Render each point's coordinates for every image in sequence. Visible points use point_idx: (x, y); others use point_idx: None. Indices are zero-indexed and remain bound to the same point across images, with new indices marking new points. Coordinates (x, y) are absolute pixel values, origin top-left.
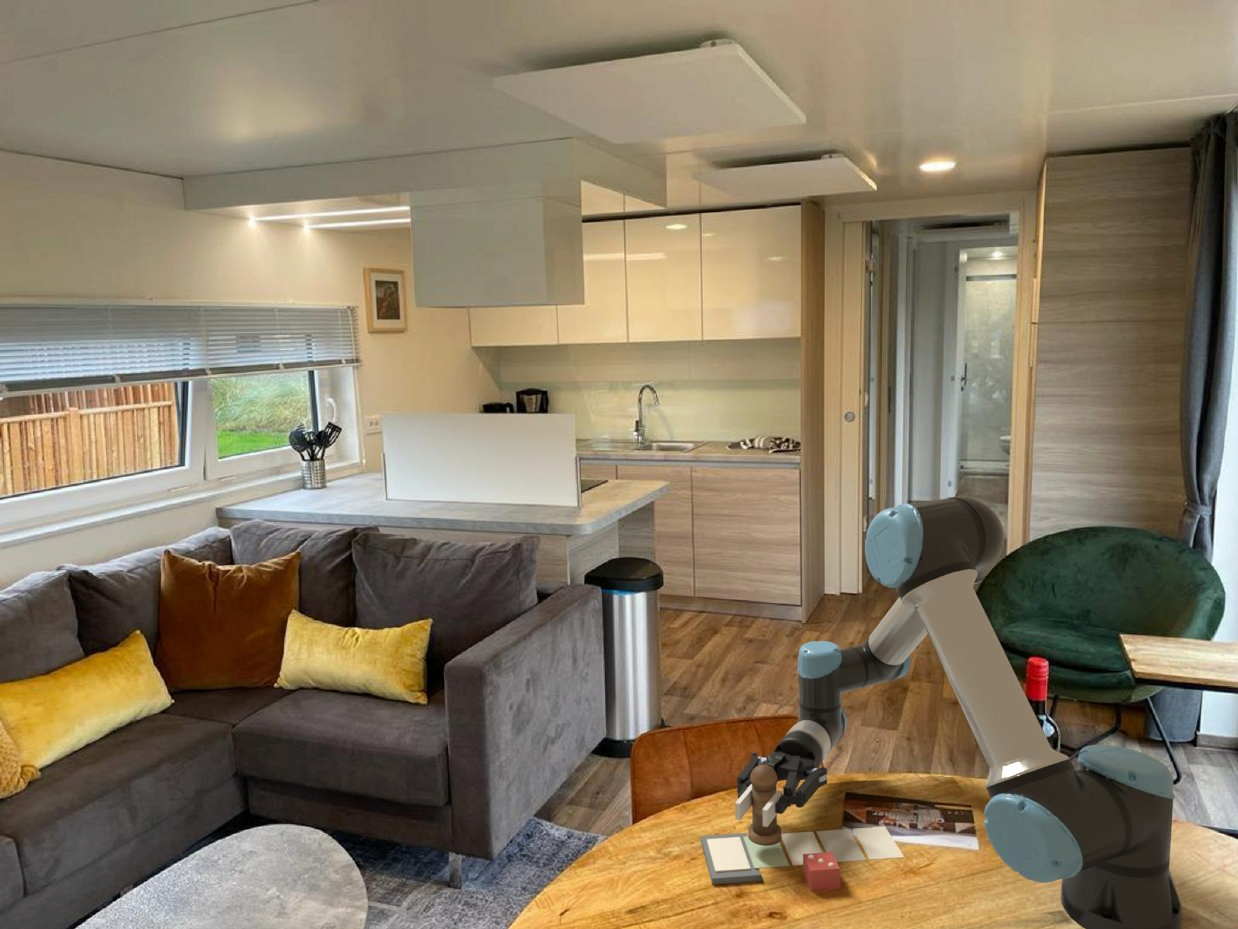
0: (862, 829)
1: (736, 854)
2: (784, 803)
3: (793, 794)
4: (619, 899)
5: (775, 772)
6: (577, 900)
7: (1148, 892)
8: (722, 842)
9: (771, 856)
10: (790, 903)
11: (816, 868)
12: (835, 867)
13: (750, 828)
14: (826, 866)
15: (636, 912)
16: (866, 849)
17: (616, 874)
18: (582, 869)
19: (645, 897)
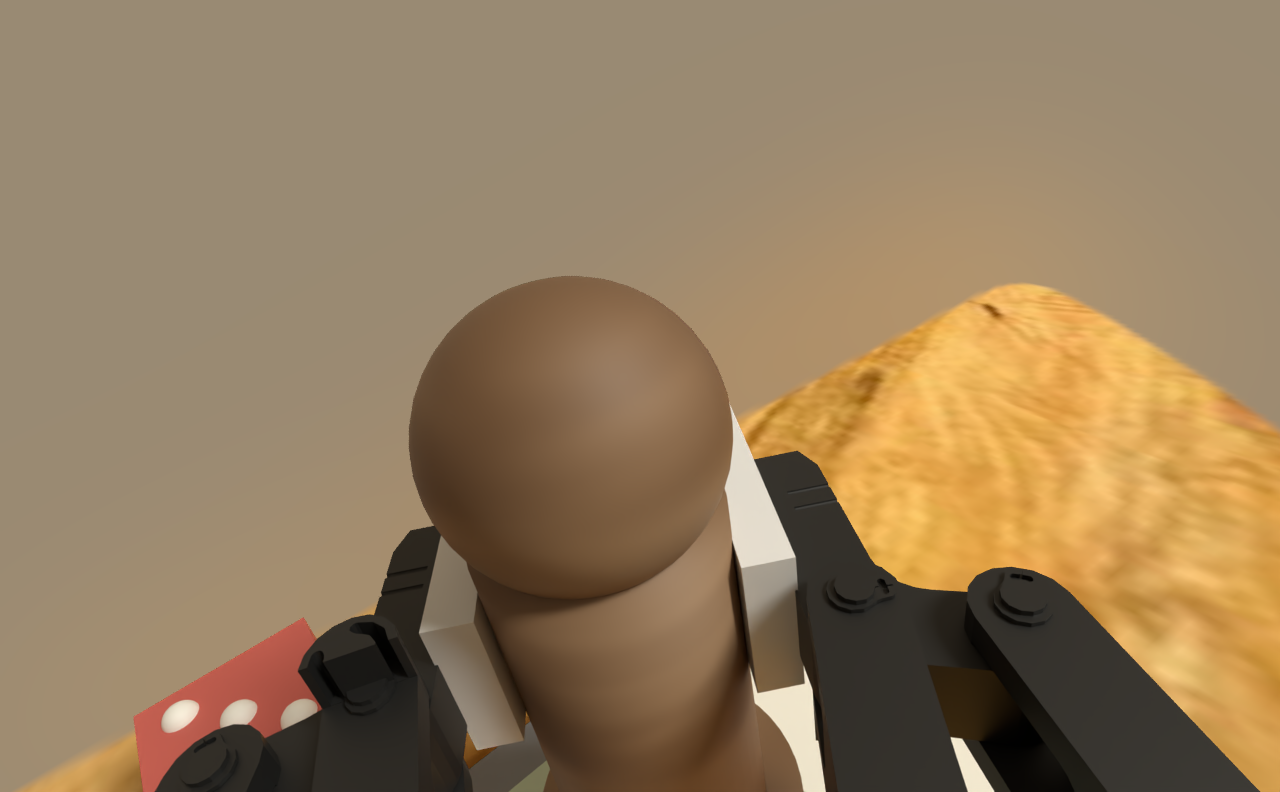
0: None
1: (805, 720)
2: (387, 571)
3: (307, 749)
4: (944, 383)
5: (417, 423)
6: (1021, 336)
7: None
8: (972, 775)
9: None
10: None
11: (270, 648)
12: (158, 710)
13: (765, 738)
14: (212, 692)
15: (855, 382)
16: None
17: (1094, 429)
18: (1201, 390)
19: (897, 420)
